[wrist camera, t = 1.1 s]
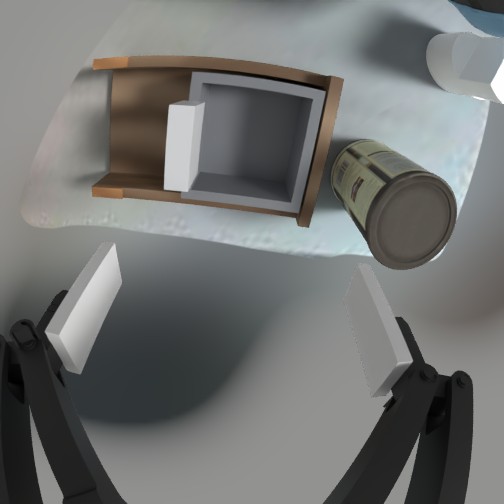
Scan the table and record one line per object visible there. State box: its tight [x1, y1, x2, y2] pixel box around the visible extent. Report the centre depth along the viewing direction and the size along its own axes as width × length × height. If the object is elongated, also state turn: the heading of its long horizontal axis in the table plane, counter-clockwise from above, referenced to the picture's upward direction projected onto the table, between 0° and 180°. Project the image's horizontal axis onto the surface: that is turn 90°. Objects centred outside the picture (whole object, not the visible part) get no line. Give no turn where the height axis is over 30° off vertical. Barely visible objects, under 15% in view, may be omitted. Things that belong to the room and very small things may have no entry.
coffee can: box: [331, 140, 457, 270], centre depth 30 cm, size 10×10×14 cm
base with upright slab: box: [426, 32, 504, 104], centre depth 21 cm, size 9×9×12 cm
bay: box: [92, 56, 344, 228], centre depth 29 cm, size 16×25×8 cm, turn 81°
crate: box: [164, 72, 326, 213], centre depth 27 cm, size 13×12×12 cm
